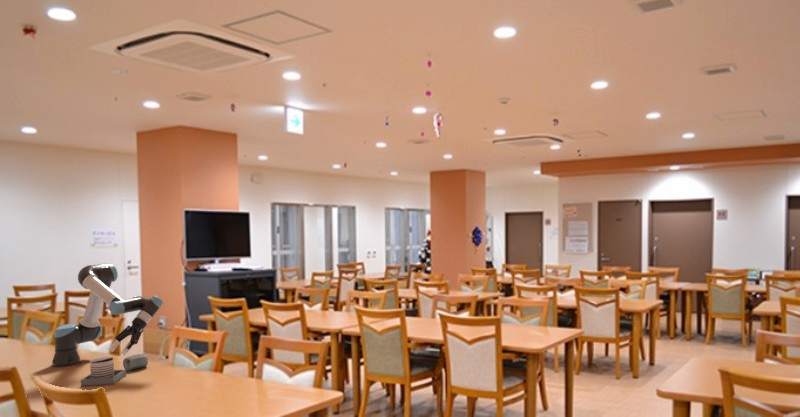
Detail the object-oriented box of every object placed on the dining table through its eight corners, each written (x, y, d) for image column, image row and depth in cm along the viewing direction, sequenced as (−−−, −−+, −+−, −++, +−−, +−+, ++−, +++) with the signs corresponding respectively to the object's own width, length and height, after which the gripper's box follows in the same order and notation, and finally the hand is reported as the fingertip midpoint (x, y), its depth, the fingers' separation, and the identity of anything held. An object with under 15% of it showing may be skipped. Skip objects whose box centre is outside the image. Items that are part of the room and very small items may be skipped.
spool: (125, 367, 329) (126, 350, 334) (119, 373, 335) (121, 356, 340) (150, 368, 338) (151, 352, 343) (144, 373, 344) (144, 357, 349)
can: (96, 384, 307) (96, 361, 307) (86, 381, 314) (86, 359, 314) (118, 379, 316) (117, 357, 316) (108, 376, 323) (107, 354, 323)
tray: (95, 377, 324) (95, 371, 324) (126, 375, 325) (125, 369, 325) (81, 386, 307) (80, 379, 307) (113, 384, 308) (113, 377, 308)
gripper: (157, 326, 328) (133, 358, 316) (134, 322, 343) (110, 353, 331) (148, 318, 324) (123, 351, 312) (125, 314, 339) (100, 346, 327)
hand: (116, 352), depth 321 cm, fingers open, 13 cm apart
